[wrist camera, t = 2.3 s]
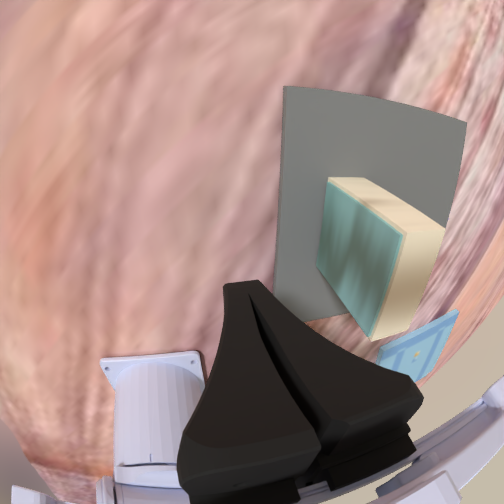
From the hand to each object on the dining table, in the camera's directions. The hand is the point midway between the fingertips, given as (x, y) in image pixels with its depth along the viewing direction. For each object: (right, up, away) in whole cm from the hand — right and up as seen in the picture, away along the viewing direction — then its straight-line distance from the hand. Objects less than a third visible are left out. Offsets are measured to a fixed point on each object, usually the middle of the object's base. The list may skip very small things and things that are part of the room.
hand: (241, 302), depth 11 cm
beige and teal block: (+6, +4, +7) cm, 10 cm away
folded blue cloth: (+20, -12, +21) cm, 32 cm away
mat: (+9, +4, +8) cm, 13 cm away
